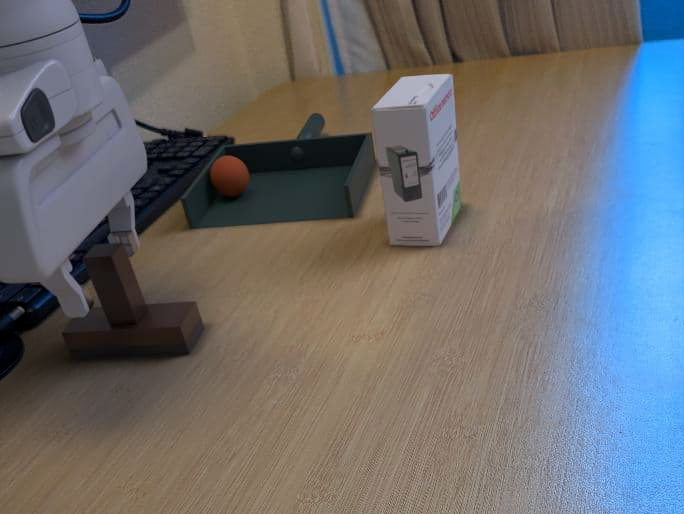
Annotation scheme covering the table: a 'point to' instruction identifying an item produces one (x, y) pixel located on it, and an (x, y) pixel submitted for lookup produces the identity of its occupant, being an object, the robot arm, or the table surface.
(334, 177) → the dustpan
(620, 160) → the table surface
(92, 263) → the brush
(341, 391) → the table surface
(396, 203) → the ink box
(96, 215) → the robot arm
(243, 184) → the ball
